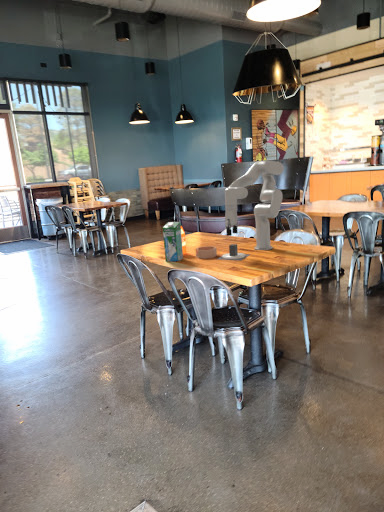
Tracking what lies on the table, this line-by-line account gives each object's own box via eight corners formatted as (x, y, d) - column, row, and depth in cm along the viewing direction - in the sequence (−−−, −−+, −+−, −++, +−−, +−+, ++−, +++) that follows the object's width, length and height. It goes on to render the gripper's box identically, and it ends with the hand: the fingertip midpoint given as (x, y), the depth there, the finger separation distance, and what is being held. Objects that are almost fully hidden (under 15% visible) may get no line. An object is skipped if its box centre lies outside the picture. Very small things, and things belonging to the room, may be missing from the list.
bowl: (202, 254, 267) (201, 246, 265) (219, 255, 260) (218, 246, 259) (193, 258, 256) (192, 249, 255) (210, 259, 250) (210, 250, 248)
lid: (227, 253, 260) (227, 242, 259) (248, 254, 253) (248, 242, 251) (218, 258, 248) (217, 246, 246) (240, 260, 240) (239, 247, 239)
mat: (227, 254, 262) (227, 253, 262) (250, 255, 254) (250, 254, 254) (216, 260, 248) (216, 259, 247) (241, 261, 239) (241, 260, 239)
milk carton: (165, 261, 254) (162, 223, 249) (171, 258, 263) (168, 221, 257) (177, 261, 251) (174, 223, 246) (183, 258, 259) (180, 221, 254)
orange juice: (175, 252, 280) (173, 225, 276) (186, 252, 276) (184, 225, 272) (170, 254, 273) (168, 227, 269) (181, 255, 269) (179, 227, 265)
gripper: (231, 206, 253) (232, 232, 256) (220, 209, 238) (221, 236, 241) (241, 206, 249) (242, 232, 252) (231, 209, 234) (232, 236, 238)
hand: (232, 234), depth 247 cm, fingers open, 9 cm apart
